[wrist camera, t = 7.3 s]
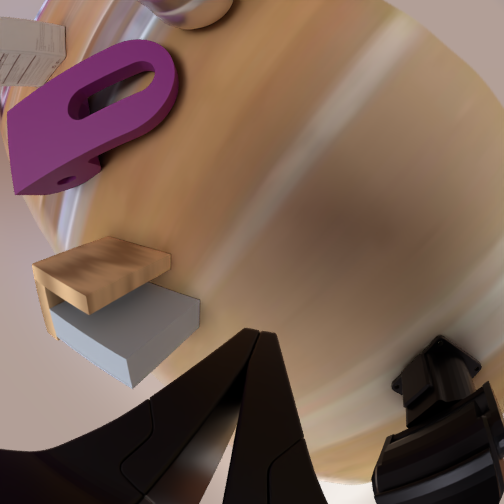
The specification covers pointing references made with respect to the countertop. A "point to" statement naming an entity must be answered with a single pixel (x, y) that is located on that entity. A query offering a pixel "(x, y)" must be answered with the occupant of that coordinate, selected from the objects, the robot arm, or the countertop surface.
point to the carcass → (95, 275)
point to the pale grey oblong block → (129, 330)
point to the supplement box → (29, 51)
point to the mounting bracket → (86, 117)
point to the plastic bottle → (188, 11)
